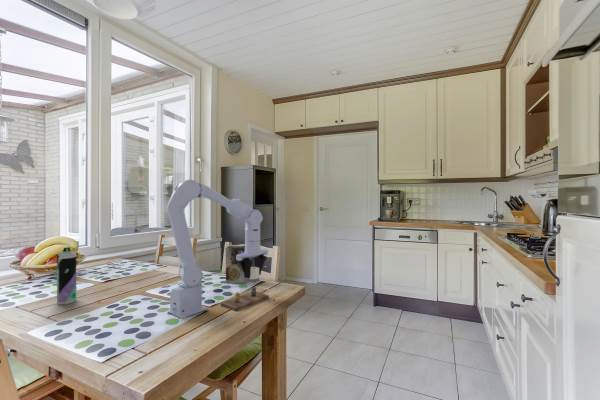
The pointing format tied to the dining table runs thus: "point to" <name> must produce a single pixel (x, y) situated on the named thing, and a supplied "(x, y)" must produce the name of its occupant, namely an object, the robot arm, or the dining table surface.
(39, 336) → the dining table surface
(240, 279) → the coffee box
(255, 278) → the sleeve
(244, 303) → the pin board
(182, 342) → the dining table surface
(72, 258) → the black purple carton
